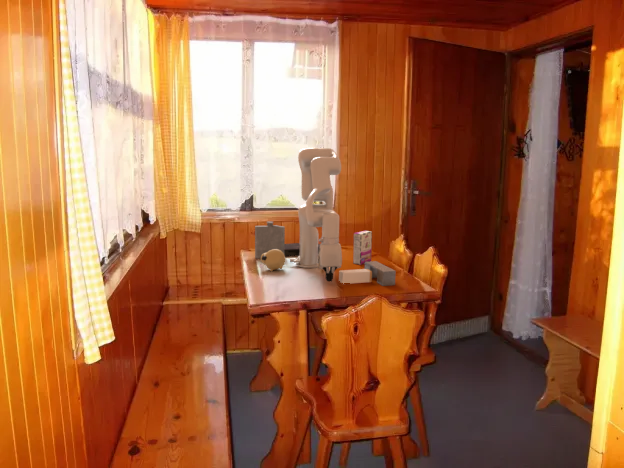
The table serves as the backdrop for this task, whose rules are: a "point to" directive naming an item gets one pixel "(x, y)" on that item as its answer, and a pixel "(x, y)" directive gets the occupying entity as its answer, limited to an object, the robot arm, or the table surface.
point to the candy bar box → (362, 247)
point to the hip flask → (269, 238)
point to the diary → (293, 249)
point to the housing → (381, 273)
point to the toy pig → (273, 259)
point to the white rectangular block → (355, 276)
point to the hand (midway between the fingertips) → (329, 280)
